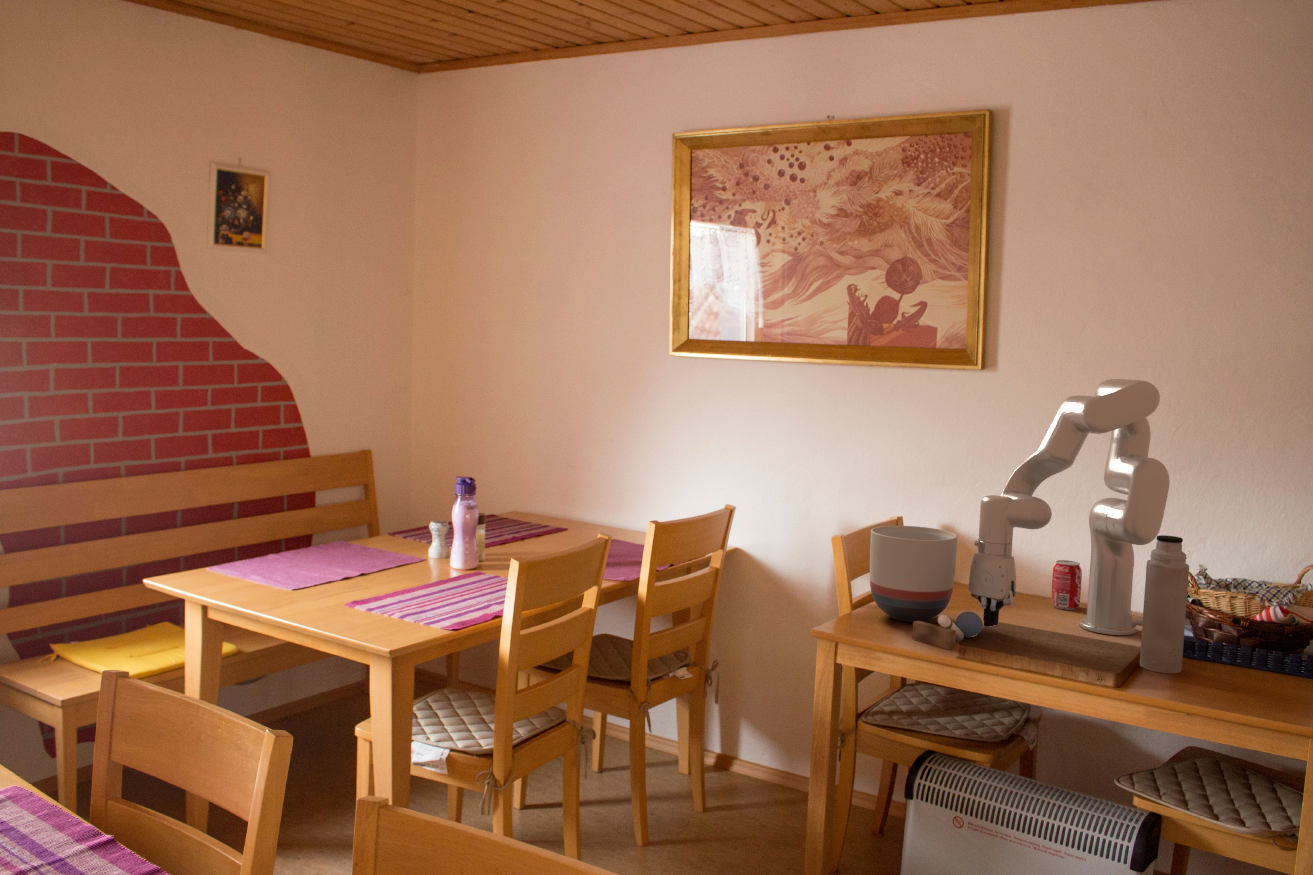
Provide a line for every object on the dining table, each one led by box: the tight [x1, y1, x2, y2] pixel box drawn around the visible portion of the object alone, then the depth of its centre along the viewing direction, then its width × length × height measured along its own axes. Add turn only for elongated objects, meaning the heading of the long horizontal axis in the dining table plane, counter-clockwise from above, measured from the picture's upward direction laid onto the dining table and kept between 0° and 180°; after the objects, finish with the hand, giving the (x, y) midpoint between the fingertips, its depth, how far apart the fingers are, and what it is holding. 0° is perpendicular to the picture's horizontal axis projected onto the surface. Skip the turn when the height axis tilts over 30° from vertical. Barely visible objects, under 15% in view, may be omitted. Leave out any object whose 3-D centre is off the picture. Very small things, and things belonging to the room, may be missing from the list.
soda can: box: [1050, 559, 1083, 611], centre depth 266 cm, size 7×7×12 cm
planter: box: [869, 525, 958, 623], centre depth 249 cm, size 20×20×21 cm
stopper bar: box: [911, 621, 956, 651], centre depth 228 cm, size 10×2×4 cm, turn 39°
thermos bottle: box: [1139, 534, 1190, 674], centre depth 214 cm, size 8×8×28 cm
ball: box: [954, 610, 984, 639], centre depth 234 cm, size 6×6×6 cm
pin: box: [937, 614, 965, 642], centre depth 229 cm, size 2×2×8 cm
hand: (990, 625), depth 240 cm, fingers closed
